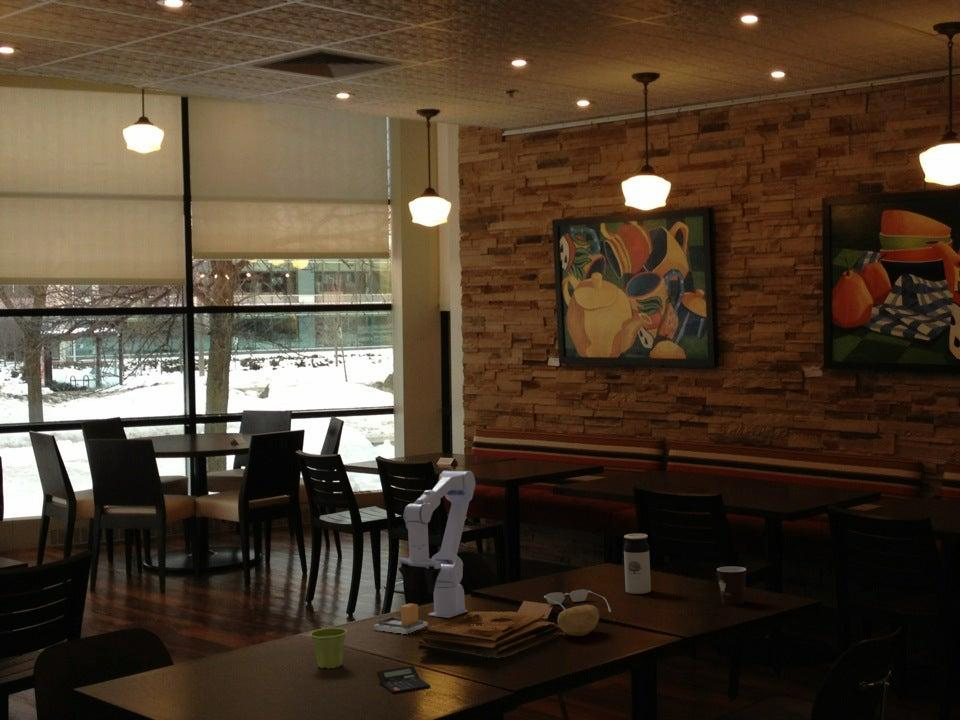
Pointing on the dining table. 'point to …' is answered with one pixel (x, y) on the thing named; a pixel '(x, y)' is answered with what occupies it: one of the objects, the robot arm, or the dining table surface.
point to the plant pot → (329, 646)
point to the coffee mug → (731, 584)
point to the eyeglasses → (575, 596)
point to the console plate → (398, 626)
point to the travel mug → (637, 564)
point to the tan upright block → (409, 614)
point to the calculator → (401, 680)
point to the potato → (578, 620)
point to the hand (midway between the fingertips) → (420, 591)
